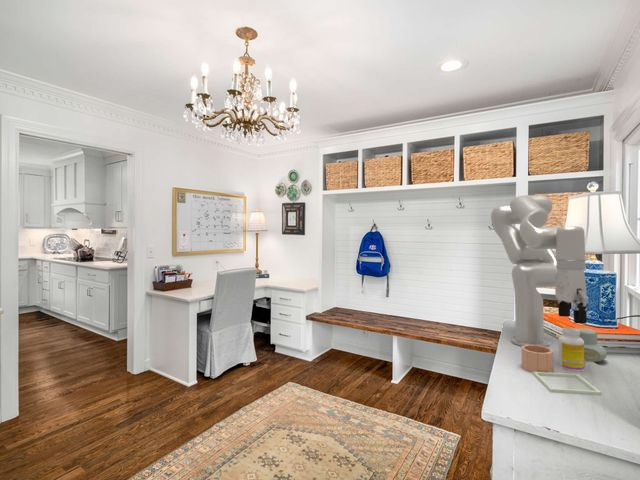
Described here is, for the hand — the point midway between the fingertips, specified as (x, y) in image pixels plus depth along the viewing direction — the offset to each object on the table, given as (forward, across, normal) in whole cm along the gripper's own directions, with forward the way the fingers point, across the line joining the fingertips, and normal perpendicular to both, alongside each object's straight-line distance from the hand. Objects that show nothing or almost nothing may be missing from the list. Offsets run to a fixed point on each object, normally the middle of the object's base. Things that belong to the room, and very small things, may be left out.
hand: (571, 319), depth 110 cm
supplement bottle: (+16, -1, 0) cm, 16 cm away
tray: (+16, +13, -8) cm, 22 cm away
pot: (+16, +2, -11) cm, 20 cm away
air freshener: (+16, -11, +9) cm, 21 cm away
